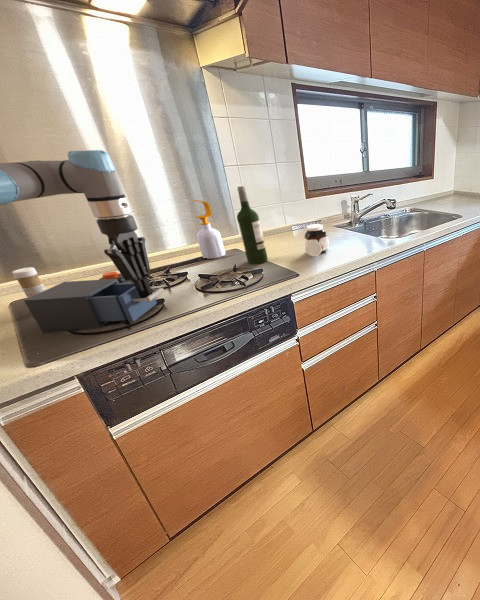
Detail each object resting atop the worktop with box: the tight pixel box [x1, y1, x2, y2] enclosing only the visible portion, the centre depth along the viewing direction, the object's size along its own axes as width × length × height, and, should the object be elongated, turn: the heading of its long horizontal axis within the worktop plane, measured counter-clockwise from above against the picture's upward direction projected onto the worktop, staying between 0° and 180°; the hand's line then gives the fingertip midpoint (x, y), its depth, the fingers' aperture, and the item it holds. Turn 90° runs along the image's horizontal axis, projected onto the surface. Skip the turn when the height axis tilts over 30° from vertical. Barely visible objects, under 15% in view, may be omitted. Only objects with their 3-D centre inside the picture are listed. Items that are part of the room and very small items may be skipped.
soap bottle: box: [192, 199, 226, 260], centre depth 139 cm, size 9×9×25 cm
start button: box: [101, 271, 119, 279], centre depth 112 cm, size 4×4×2 cm
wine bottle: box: [236, 185, 268, 265], centre depth 130 cm, size 8×8×30 cm
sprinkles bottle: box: [11, 266, 47, 299], centre depth 96 cm, size 5×5×14 cm
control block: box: [98, 273, 133, 284], centre depth 113 cm, size 12×10×4 cm
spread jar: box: [303, 223, 330, 257], centre depth 143 cm, size 12×11×12 cm
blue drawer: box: [88, 283, 165, 323], centre depth 92 cm, size 18×11×8 cm, turn 96°
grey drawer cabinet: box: [23, 279, 119, 333], centre depth 91 cm, size 15×13×10 cm
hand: (148, 299), depth 93 cm, fingers closed
